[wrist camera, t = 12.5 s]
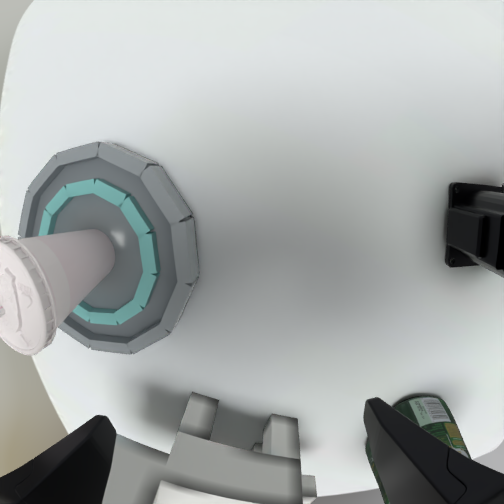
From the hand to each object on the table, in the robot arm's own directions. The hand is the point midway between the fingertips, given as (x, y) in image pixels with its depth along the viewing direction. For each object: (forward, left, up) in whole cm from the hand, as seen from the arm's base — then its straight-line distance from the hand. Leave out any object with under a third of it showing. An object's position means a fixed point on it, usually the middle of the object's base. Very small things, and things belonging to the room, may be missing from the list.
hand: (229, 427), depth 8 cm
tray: (+12, -3, -13) cm, 18 cm away
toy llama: (+4, +15, -13) cm, 20 cm away
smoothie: (+12, -3, -12) cm, 17 cm away
